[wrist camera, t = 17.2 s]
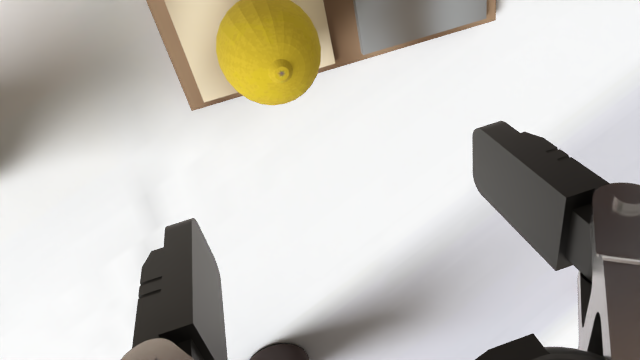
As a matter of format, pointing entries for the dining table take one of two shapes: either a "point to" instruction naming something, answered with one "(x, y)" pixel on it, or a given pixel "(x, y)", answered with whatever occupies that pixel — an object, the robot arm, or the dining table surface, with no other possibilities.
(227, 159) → the dining table surface
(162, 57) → the dining table surface
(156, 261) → the robot arm
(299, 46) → the lemon
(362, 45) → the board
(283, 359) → the vinegar
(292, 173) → the dining table surface
